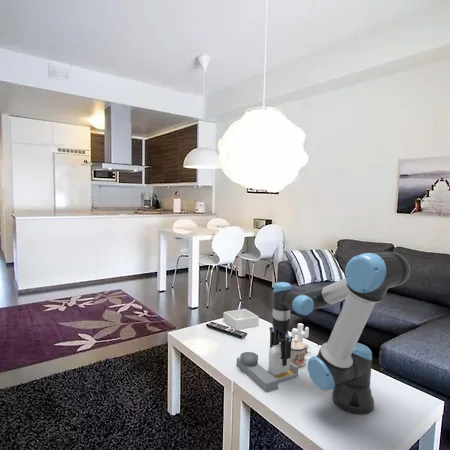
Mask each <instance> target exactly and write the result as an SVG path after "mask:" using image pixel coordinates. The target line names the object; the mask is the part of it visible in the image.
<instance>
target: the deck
mask: <svg viewBox="0 0 450 450" xmlns="http://www.w3.org/2000/svg"><path fill="white" fill-rule="evenodd" d="M236 366H237V367H238V369H240V370H241V371H242V372H243V373H244V374H246V376H247V377H249V378H250V379H251V380H252V381H253V382H254V383H255V382H256V383H257V384H258V385H257V384H256V383H255V384H256V385H257V386H259V387H260V388H261V389H262V390H263V391H264V392H265V393H268V391H269V392H272V391H275V390H278V389H279V383H280V382H281V383H282V382H284V381H288V380H291V379H294V378H297V377H298V376H299V367H297V366H296V365H294V364H293V363H292V362H290V370H289V371H287V372H284V373H281V374H277V375H271V374H270V373H269V369H267V370H266V369H265V368H264V367H263V366H262V365H260V364H259V356H258V354H257V353H255V352H252V351H245V352H242V353H241V354H240V356H239V357H237V358H236Z"/></svg>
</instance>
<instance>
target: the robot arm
mask: <svg viewBox="0 0 450 450" xmlns="http://www.w3.org/2000/svg"><path fill="white" fill-rule="evenodd" d="M344 270H345V271H344V278H342V279H340V280H337V281H334V282H332V283H330V284H328V285H326V286H324V287H321V288H319V289H315V290H311V291H309V290H308V291H304V292H296V291H295V290H294V291H293V290H292V289H293V288H292V284H290V283H289V282H285V281H279V282H275V283H274V285H273V294H272V296H273V299H272V300H273V301H272V320H271V321H272V323H271V324H272V325H271V327H269V333H270V335H269V349H270V348H272V347H273V346H275V345H278V344H280V345H281V356H282V357H280V373H282V372H286V365H287V359H289V358H291V342H292V341H293V340H294V338H292V336H290V335H289V329H290V326H291V320H290V318H291V311H293V312H295V313H297V314H298V315H302V316H308V315H310V314H311V313H312V312H313V311H314V310H317V309H322V308H329V307H330V306H333V305H334V304H336V303H339V302H342V301H344V302H343V304H342V308H341V309H340V312H339V314H338V317H337V320H336V322H335V324H334V327H333V328H332V331H331V334H330V336H329V339H328V341H327V342H324V343H322V344H321V345H320V348H319V351H318V353H317V354H316V355H313V356H312V357H310V358H309V359H308V361H307V371H308V374H309V377H310V379H311V381H312V382H313V384H314V386H316V387H317V388H318V389H320V390H322V391H329V390H332V396H331V397H332V398H331V399H332V402H333V403H334V404H335V406H337V407H339V408H340V409H341V410H343V411H345V412H348V413H351V414H355V415H365V414H366V415H367V414H370V413H371V412H372V411H373V410H374V408H375V406H374V405H375V401H374V397H373V395H372V389H371V374H372V364H373V363H372V362H373V352H372V350H371V349H370V347H368V346H367V345H365V344H363V343H360V342H358V341H359V339H360V337H361V335H362V333H363V330H364V328H365V326H366V324H367V322H368V320H369V318H370V316H371V313H372V311H373V310H374V306H375V304H377V303H381V302H382V301H383V300H384V298H385V296H386V293H387V291H388V289H390V288H395V287H399V286H402V285H403V284H404V283H406V282H407V281H408V280H409V277H410V274H411V266H410V263H409V261H408V260H407V258H405V256H403V255H402V254H400V253H397V252H395V251H382V252H373V253H372V252H365V253H361V254H358V255H355V256H353V257H352V258H351V259H350V260H349V261H348V262H347V264H346V266H345V269H344Z"/></svg>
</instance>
